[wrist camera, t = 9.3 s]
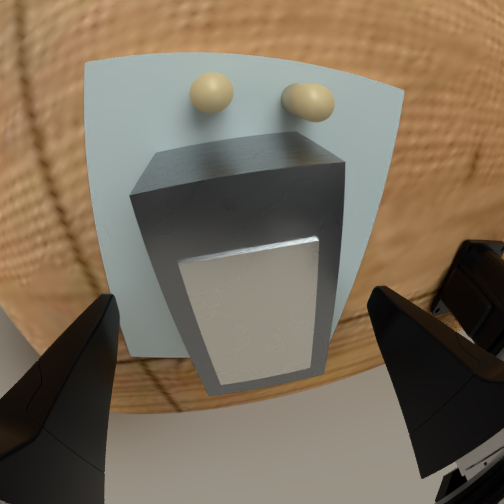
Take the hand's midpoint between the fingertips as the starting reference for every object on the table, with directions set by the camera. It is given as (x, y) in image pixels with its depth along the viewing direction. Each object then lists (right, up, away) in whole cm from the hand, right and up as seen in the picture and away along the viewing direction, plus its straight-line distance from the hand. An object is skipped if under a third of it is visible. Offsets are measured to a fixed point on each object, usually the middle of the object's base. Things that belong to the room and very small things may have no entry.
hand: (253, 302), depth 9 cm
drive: (0, +2, +3) cm, 3 cm away
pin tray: (-1, +2, +3) cm, 4 cm away
